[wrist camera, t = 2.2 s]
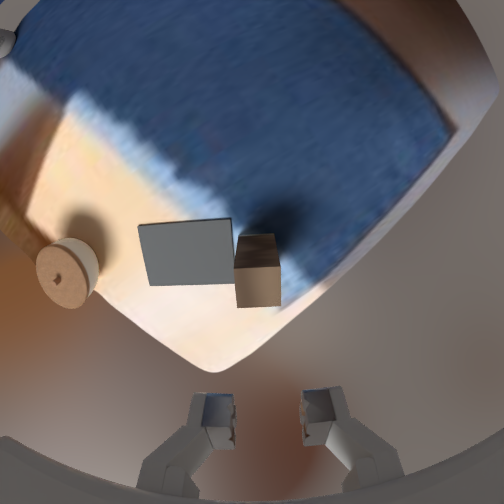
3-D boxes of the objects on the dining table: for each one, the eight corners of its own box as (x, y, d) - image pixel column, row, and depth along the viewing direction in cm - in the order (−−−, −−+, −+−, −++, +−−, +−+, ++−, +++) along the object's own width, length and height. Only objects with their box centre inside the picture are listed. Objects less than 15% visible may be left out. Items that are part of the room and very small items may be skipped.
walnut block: (273, 233, 40) (280, 266, 30) (274, 265, 42) (281, 305, 32) (238, 235, 40) (233, 268, 30) (241, 266, 42) (237, 308, 32)
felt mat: (230, 218, 39) (230, 219, 39) (235, 282, 43) (235, 283, 42) (138, 225, 39) (137, 226, 39) (150, 284, 43) (149, 285, 43)
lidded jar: (55, 230, 40) (22, 250, 31) (102, 227, 40) (70, 250, 31) (68, 284, 44) (41, 311, 35) (114, 287, 44) (89, 318, 35)
